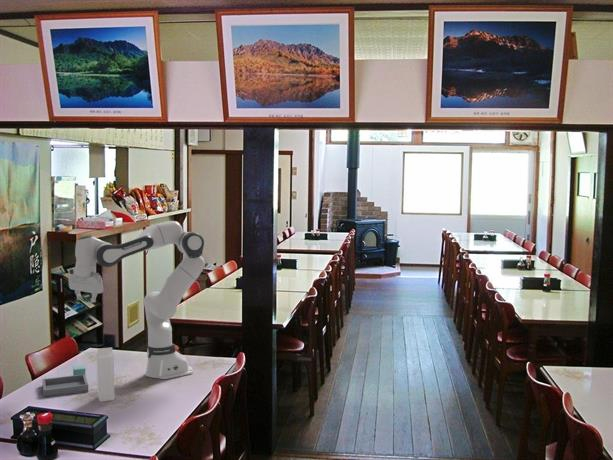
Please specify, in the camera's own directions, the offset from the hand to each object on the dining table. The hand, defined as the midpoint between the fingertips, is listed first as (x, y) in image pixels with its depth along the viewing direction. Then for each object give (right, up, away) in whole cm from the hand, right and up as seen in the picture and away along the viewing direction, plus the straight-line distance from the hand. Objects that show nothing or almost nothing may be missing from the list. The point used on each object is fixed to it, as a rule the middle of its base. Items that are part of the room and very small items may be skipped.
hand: (86, 301), depth 281 cm
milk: (+16, -40, -20) cm, 47 cm away
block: (-6, -37, +7) cm, 38 cm away
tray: (-6, -38, -8) cm, 39 cm away
